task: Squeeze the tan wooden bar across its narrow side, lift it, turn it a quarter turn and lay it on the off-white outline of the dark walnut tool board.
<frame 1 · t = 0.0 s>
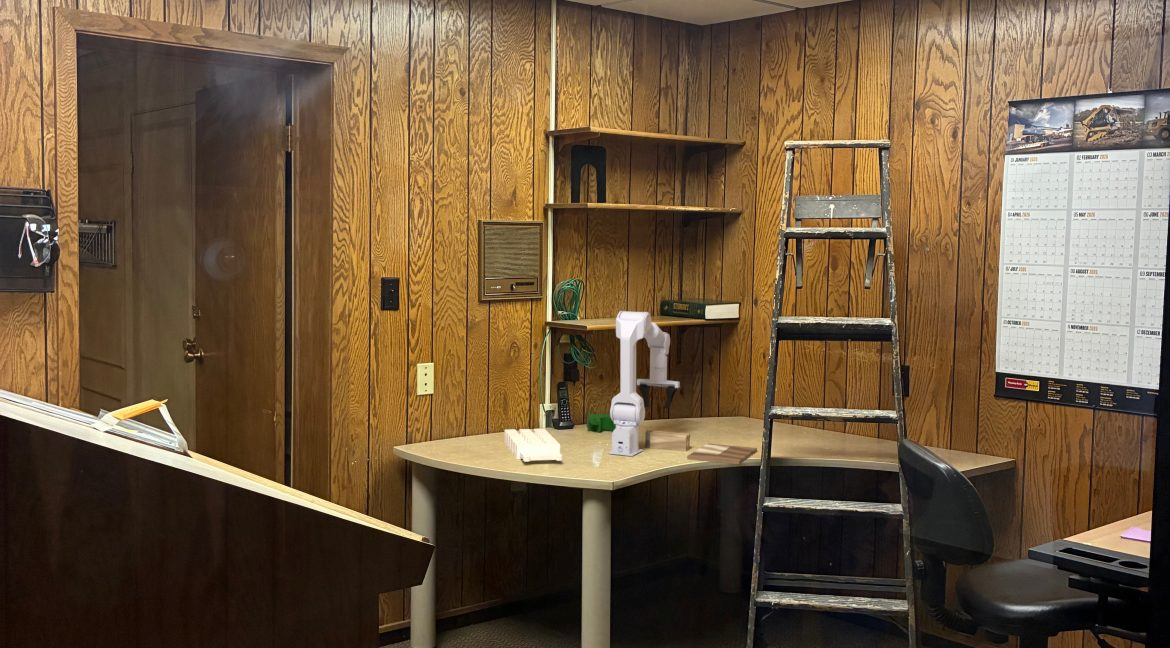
hand: (657, 407, 343), 10 cm above the table, tool pointing down, fingers open, 7 cm apart
organizer: (533, 455, 315), on the table
board: (722, 455, 316), on the table
tan wooden bar: (669, 448, 325), on the table
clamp: (604, 432, 354), on the table
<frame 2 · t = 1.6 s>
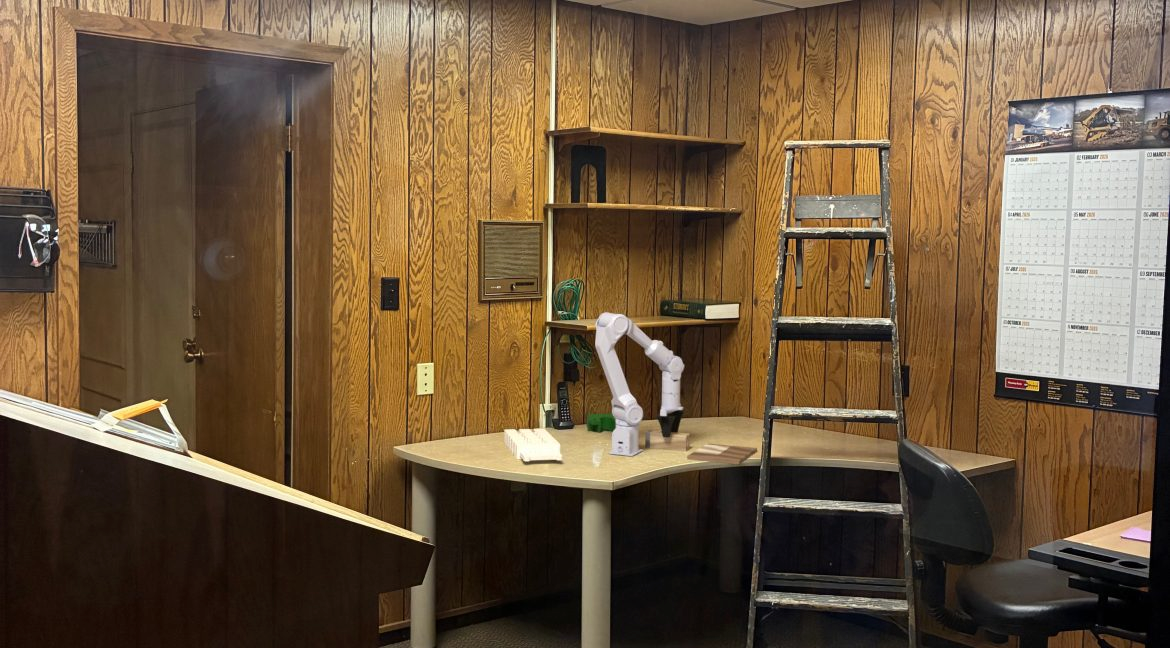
hand: (670, 435, 325), 4 cm above the table, tool pointing down, fingers open, 7 cm apart
nothing on the table moved.
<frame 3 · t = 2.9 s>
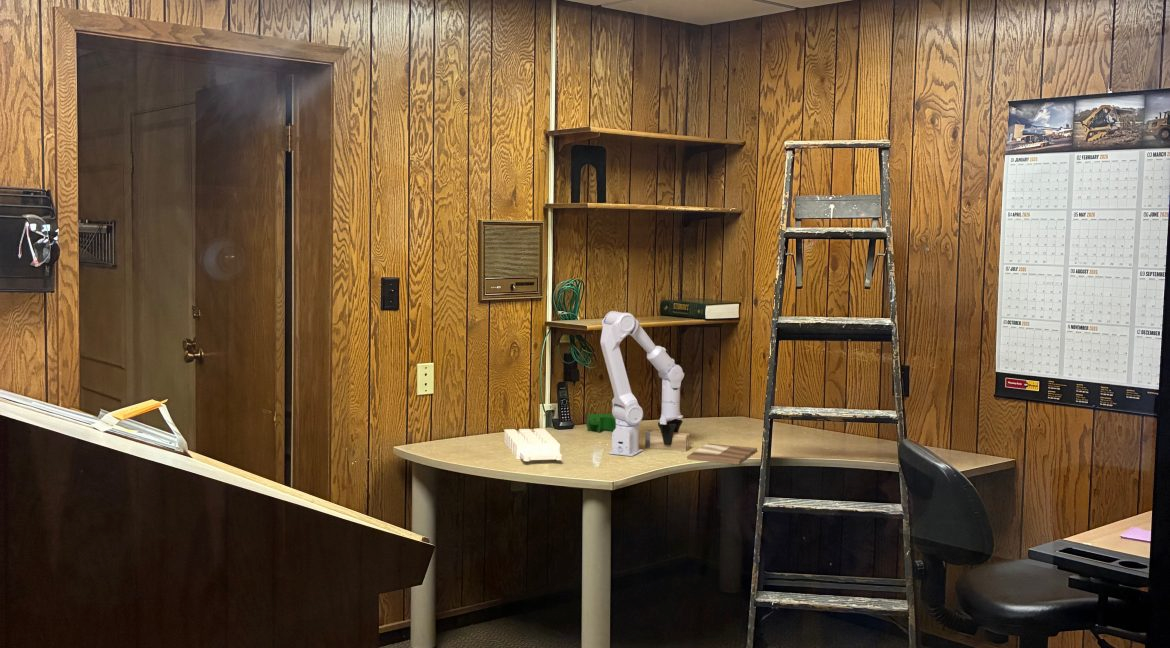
hand: (669, 443, 325), 2 cm above the table, tool pointing down, fingers closed on tan wooden bar, 4 cm apart
tan wooden bar: (669, 448, 325), on the table, touching gripper
everything else where it was.
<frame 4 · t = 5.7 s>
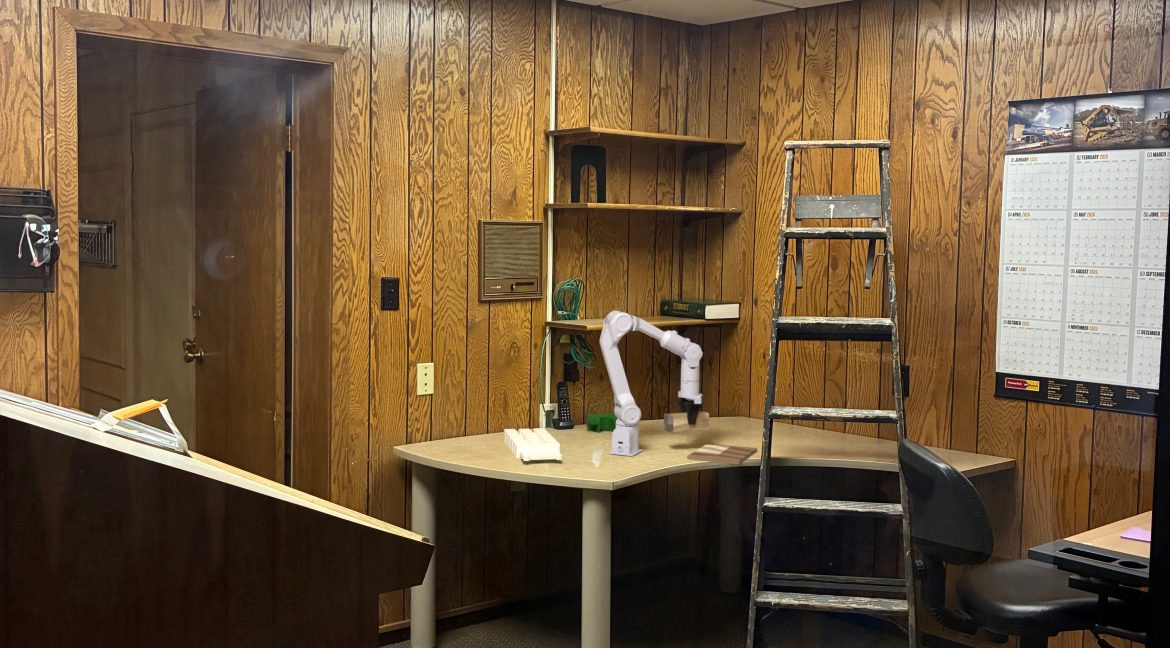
hand: (689, 423, 322), 9 cm above the table, tool pointing down, fingers closed on tan wooden bar, 4 cm apart
tan wooden bar: (689, 429, 322), point 7 cm above the table, touching gripper
everything else where it was.
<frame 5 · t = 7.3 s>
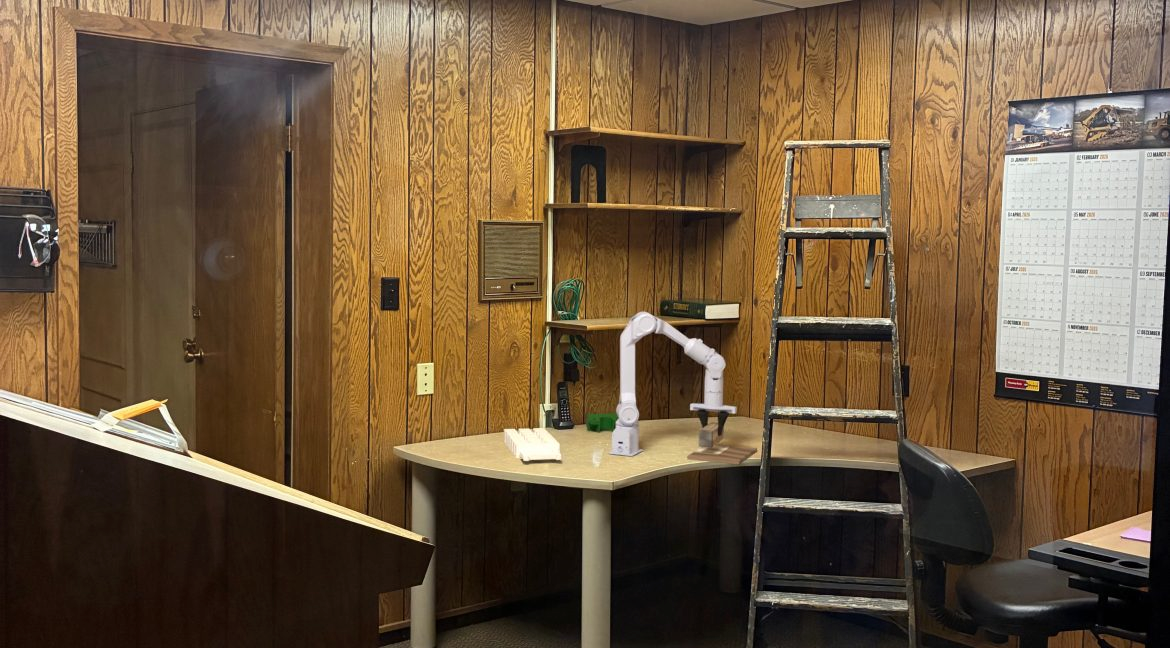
hand: (712, 434, 319), 6 cm above the table, tool pointing down, fingers closed on tan wooden bar, 4 cm apart
tan wooden bar: (712, 442, 319), point 3 cm above the table, touching gripper
when the fingers open (4 cm above the table, at t = 8.5 s): tan wooden bar stays where it is, resting on board.
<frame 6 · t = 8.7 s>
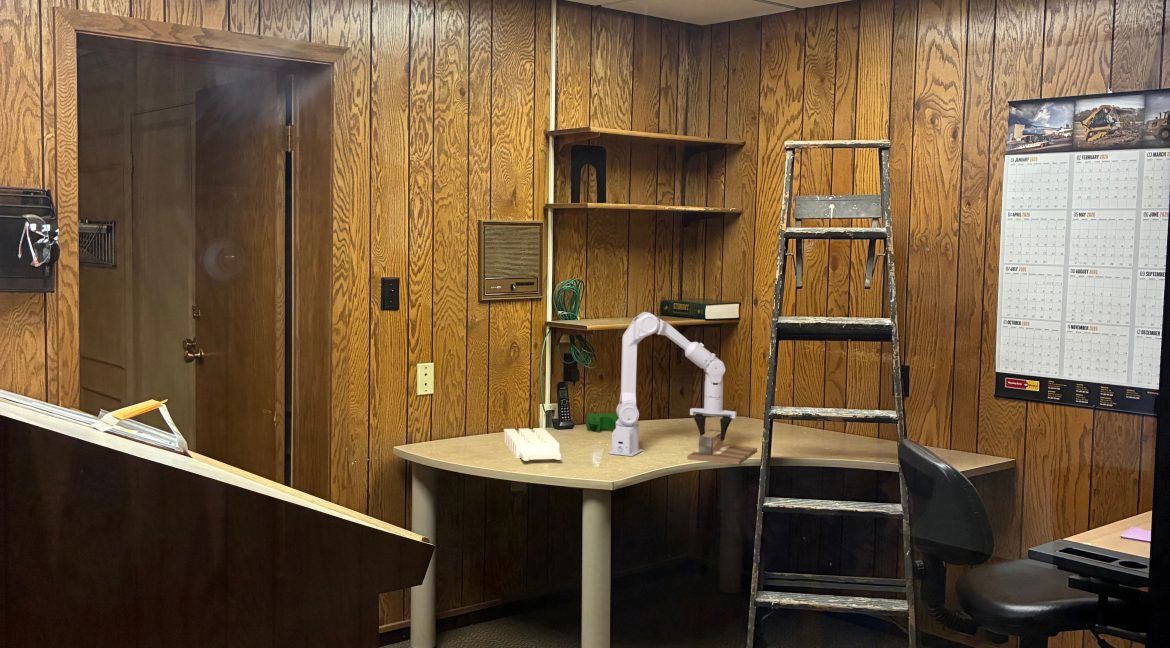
hand: (712, 439, 319), 4 cm above the table, tool pointing down, fingers open, 6 cm apart
tan wooden bar: (712, 449, 319), point 1 cm above the table, touching board
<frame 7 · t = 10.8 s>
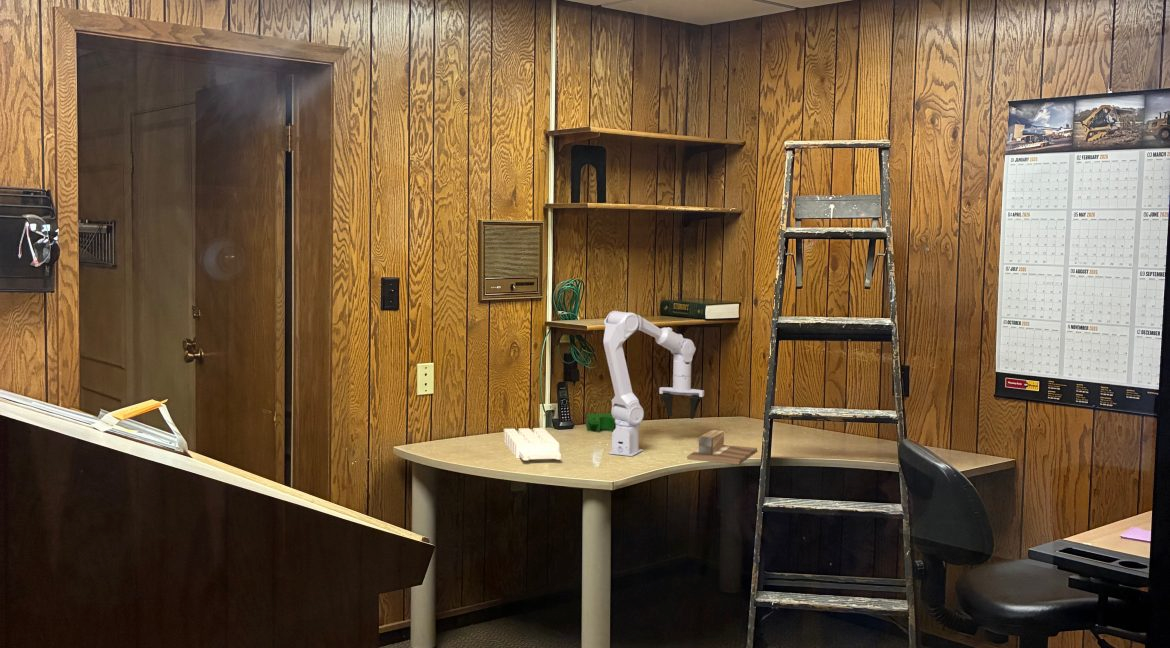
hand: (681, 417, 329), 9 cm above the table, tool pointing down, fingers open, 7 cm apart
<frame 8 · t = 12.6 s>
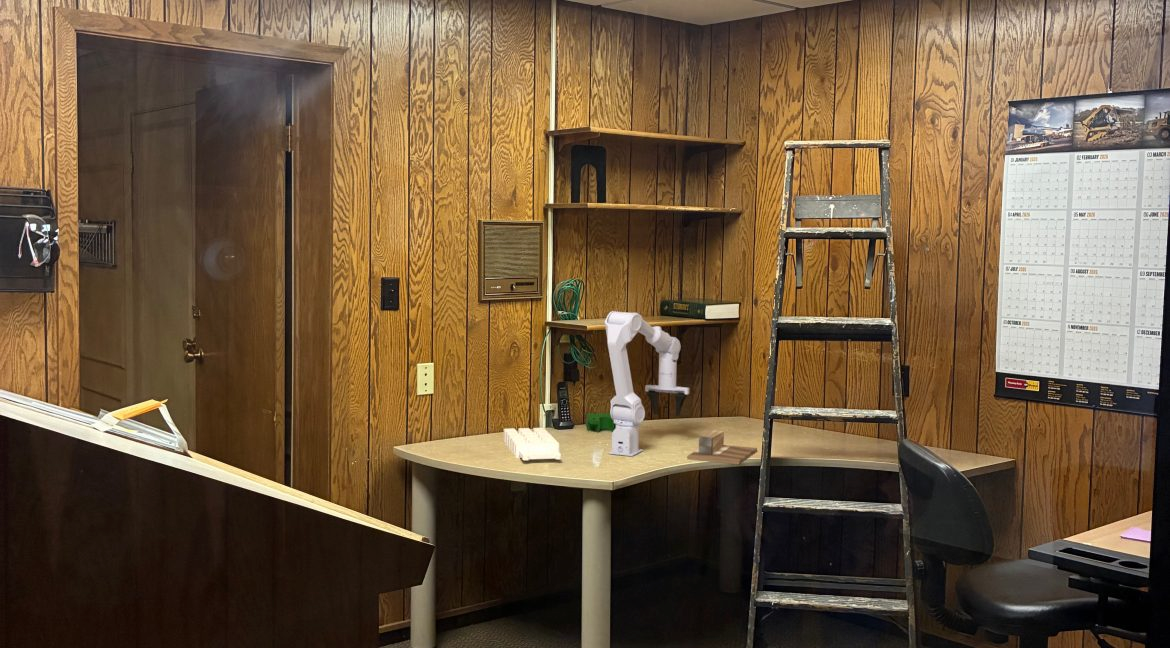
hand: (666, 414, 333), 9 cm above the table, tool pointing down, fingers open, 7 cm apart
at the end: tan wooden bar inside the target area on the board (0.3 cm from its centre), point 1.1 cm above the board's base; tan wooden bar touching board; the gripper is holding nothing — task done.
